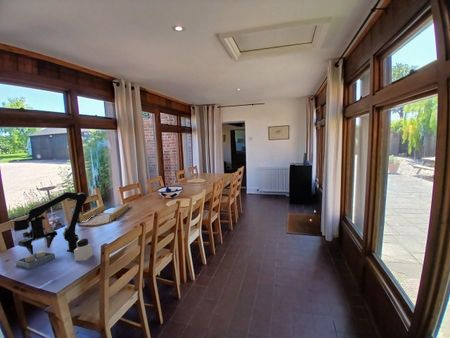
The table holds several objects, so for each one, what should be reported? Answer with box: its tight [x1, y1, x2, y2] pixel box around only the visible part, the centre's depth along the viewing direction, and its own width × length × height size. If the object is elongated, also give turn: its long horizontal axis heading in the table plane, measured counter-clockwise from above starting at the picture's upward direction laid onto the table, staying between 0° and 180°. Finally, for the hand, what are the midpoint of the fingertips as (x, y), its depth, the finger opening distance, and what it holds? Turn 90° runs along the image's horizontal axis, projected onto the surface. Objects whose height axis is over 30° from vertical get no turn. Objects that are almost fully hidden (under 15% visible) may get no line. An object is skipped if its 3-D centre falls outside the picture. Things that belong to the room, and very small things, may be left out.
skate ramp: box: [71, 202, 130, 223], centre depth 222 cm, size 40×35×16 cm
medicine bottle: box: [73, 238, 94, 262], centre depth 140 cm, size 7×7×12 cm
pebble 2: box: [35, 250, 46, 260], centre depth 141 cm, size 4×4×4 cm
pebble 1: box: [24, 254, 36, 263], centre depth 135 cm, size 4×4×4 cm
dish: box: [15, 251, 56, 270], centre depth 138 cm, size 14×14×3 cm
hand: (40, 251), depth 140 cm, fingers open, 9 cm apart
